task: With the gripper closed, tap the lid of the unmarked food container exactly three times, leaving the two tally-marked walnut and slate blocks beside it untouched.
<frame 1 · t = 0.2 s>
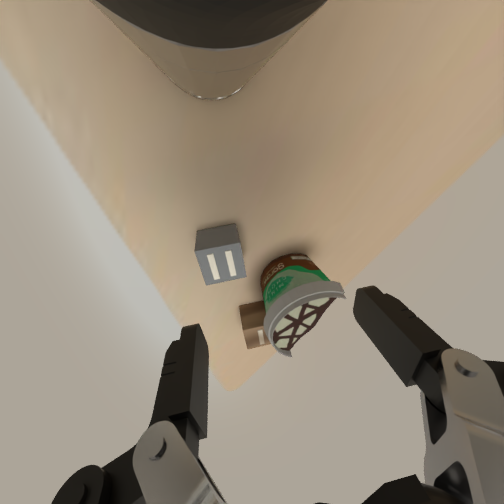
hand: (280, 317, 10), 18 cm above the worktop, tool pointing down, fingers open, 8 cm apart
walnut block: (255, 311, 37), on the worktop
food container: (274, 272, 32), on the worktop
slate block: (220, 243, 28), on the worktop
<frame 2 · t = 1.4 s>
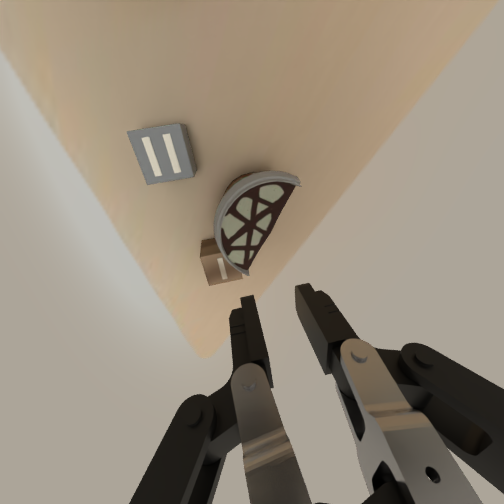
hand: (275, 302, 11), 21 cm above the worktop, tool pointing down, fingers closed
walnut block: (221, 251, 33), on the worktop
food container: (237, 197, 30), on the worktop
slate block: (171, 151, 25), on the worktop
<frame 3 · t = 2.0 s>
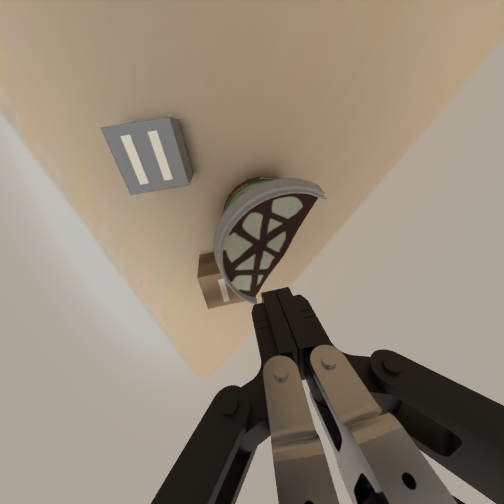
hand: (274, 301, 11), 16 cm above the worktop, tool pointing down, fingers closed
walnut block: (222, 266, 29), on the worktop
food container: (240, 205, 25), on the worktop
slate block: (161, 152, 21), on the worktop
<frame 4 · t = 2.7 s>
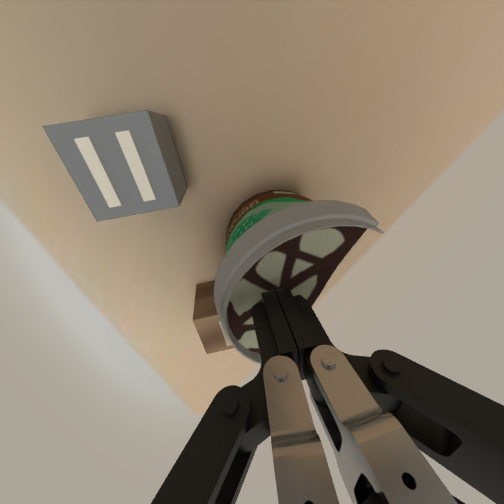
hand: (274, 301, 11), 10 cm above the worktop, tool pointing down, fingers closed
walnut block: (224, 296, 24), on the worktop
food container: (248, 225, 20), on the worktop, touching gripper
slate block: (144, 160, 16), on the worktop
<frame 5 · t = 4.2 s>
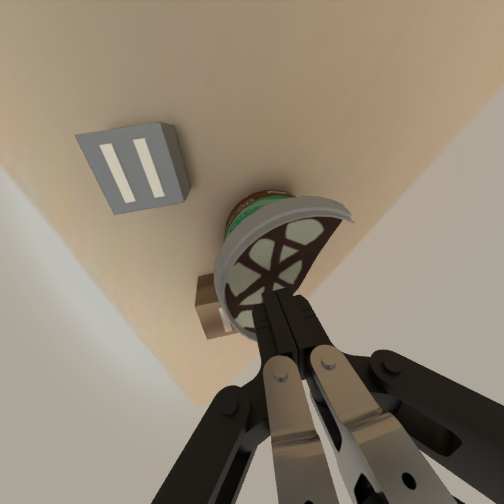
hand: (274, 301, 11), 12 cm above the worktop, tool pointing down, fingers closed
walnut block: (223, 288, 26), on the worktop
food container: (245, 222, 22), on the worktop
slate block: (154, 163, 18), on the worktop
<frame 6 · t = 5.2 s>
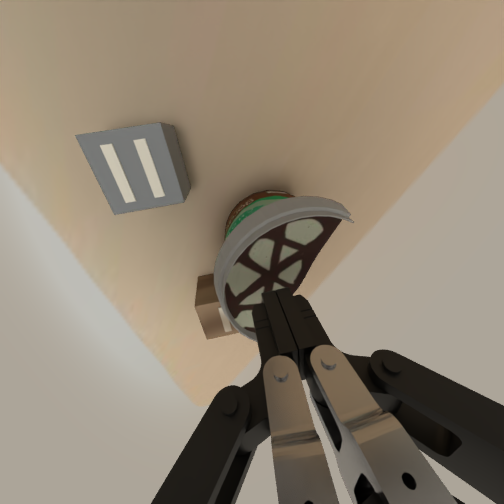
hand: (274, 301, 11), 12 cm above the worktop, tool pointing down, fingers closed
walnut block: (223, 288, 26), on the worktop
food container: (245, 222, 22), on the worktop
slate block: (154, 163, 18), on the worktop
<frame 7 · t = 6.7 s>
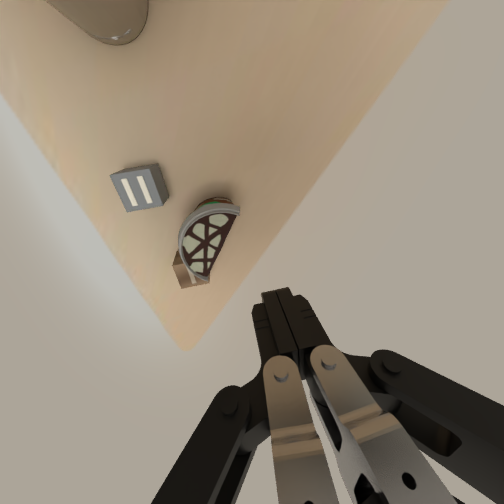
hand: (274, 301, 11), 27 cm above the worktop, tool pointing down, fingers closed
walnut block: (194, 259, 40), on the worktop
food container: (204, 216, 36), on the worktop
slate block: (147, 183, 32), on the worktop
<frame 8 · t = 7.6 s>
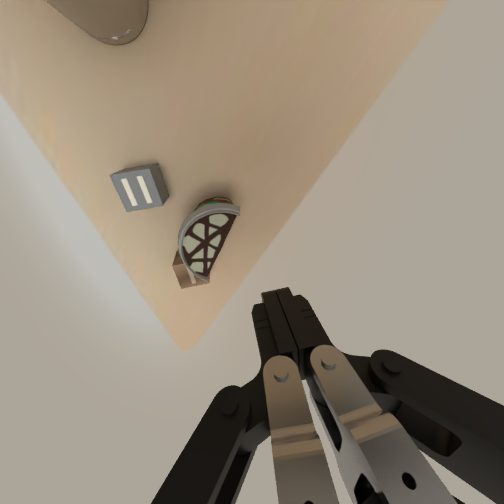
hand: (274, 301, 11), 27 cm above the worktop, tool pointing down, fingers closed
walnut block: (193, 259, 40), on the worktop
food container: (203, 216, 36), on the worktop
slate block: (147, 183, 32), on the worktop
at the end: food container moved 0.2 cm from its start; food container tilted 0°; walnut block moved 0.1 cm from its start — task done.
